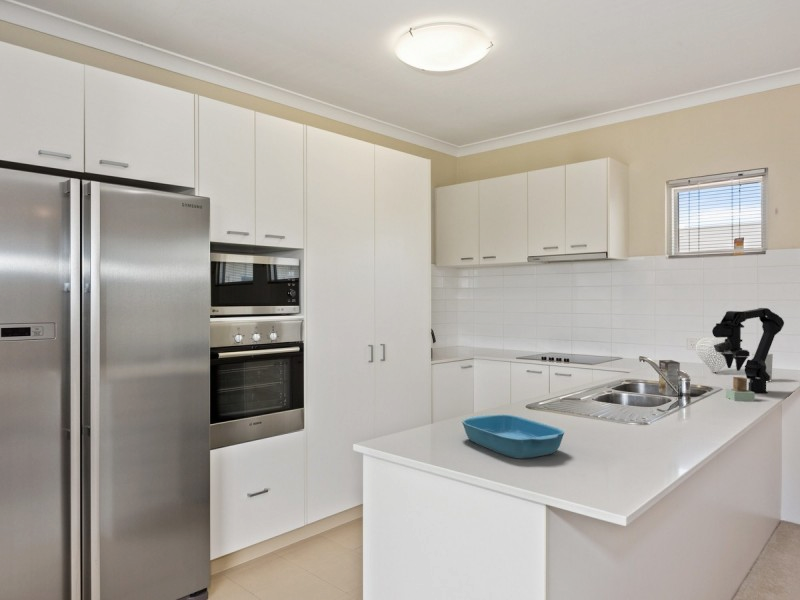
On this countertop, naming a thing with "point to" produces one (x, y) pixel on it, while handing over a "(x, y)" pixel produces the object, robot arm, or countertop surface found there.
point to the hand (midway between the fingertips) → (733, 369)
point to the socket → (740, 395)
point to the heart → (711, 353)
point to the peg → (739, 384)
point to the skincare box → (767, 364)
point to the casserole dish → (513, 435)
